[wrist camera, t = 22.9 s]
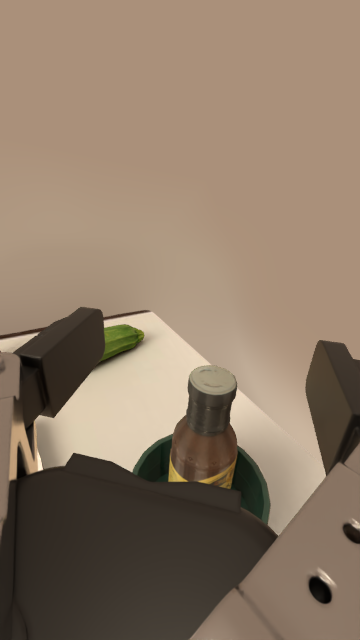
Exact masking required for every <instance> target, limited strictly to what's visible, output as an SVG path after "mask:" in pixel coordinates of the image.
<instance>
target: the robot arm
mask: <svg viewBox="0 0 360 640" xmlns="http://www.w3.org/2000/svg"><path fill="white" fill-rule="evenodd" d="M104 352H105V334H104V322H103V314H102V311H101V310H99V309H94V308H86V307H80V308H78V309H77V310H76V311H75V312H74V313H72V314H71V315H69V316H68V317H66V318H63V319H61V320H58V321H56V322H54V323H53V324H51V325H50V326H48V327H47V328H46V329H45V330H43V331H42V332H40V333H39V334H38V336H35V337H34V338H32V339H31V340H30V341H28V342H27V343H26V344H24V345H23V346H22V347H20V348H19V349H17V350H16V351H15V352H13V353H7V352H2V353H0V640H360V360H355V359H353V358H352V357H351V355H350V353H349V352H348V349H347V347H346V346H345V344H343V343H338V342H330V341H323V340H319V341H318V343H317V345H316V348H315V351H314V355H313V358H312V362H311V365H310V369H309V372H308V375H307V379H306V396H307V400H308V404H309V408H310V412H311V416H312V420H313V424H314V428H315V432H316V436H317V440H318V444H319V448H320V452H321V456H322V460H323V464H324V468H325V472H326V478H325V479H324V480H323V481H322V483H321V484H320V485H319V486H318V488H317V489H316V490H315V491H314V493H313V494H312V495H311V496H310V498H309V499H308V500H307V501H306V503H305V504H304V505H303V506H302V508H301V509H300V510H299V511H298V513H297V514H296V515H295V516H294V518H293V519H292V520H291V521H290V523H289V524H288V525H287V526H286V528H285V529H284V530H283V532H282V533H281V534H280V535H279V536H278V535H277V534H276V533H275V532H274V531H273V530H272V529H271V528H270V527H269V526H268V525H266V524H265V523H264V522H263V521H262V520H260V519H259V518H258V517H256V516H255V515H253V514H252V513H250V512H249V511H247V510H245V509H243V508H241V491H236V490H232V489H228V488H223V487H219V486H215V485H211V484H206V483H202V482H198V481H187V482H150V481H147V480H145V479H143V478H141V477H139V476H137V475H135V474H134V473H132V472H130V471H128V470H126V469H124V468H122V467H121V466H119V465H117V464H115V463H113V462H111V461H107V460H102V459H98V458H94V457H89V456H85V455H81V454H76V453H73V455H72V456H71V458H70V459H69V461H68V462H67V464H66V466H60V467H53V468H48V469H44V470H40V471H38V459H37V434H36V424H35V419H36V418H37V417H38V416H39V415H42V416H47V417H52V418H54V417H55V416H56V414H57V413H58V412H59V411H60V410H61V408H62V407H63V406H64V405H65V403H66V402H67V401H68V400H69V398H70V397H71V396H72V395H73V394H74V392H75V391H76V390H77V389H78V387H79V386H80V385H81V384H82V383H83V381H84V380H85V379H86V378H87V376H88V375H89V374H90V373H91V371H92V370H93V369H94V368H95V367H96V365H97V364H98V363H99V362H100V360H101V359H102V357H103V355H104Z"/></svg>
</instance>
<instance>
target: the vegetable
mask: <svg viewBox="0 0 360 640" xmlns="http://www.w3.org/2000/svg"><path fill="white" fill-rule="evenodd" d="M104 334H105V352H104V355H103V357H102V359H101V360H100V361H102V360H104V359H107V358H109V357H111V356H114V355H115V354H117V353H120V352H122V351H125V350H128V349H132V348H133V347H135V346H136V344H137V343H139V342H140V341H141V340H143V338H144V332H142V330H138V329H136V328H133V327H131V326H129V325H126V324H124V325H117V326H112V327H106V328H104Z"/></svg>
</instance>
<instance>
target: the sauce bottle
mask: <svg viewBox="0 0 360 640" xmlns="http://www.w3.org/2000/svg"><path fill="white" fill-rule="evenodd" d="M236 390H237V382H236V379H235V376H234V375H233V374H232V373H230V372H229V371H227V370H226V369H224V368H221V367H218V366H211V365H208V366H201V367H198V368H196V369H194V370H193V371H192V372H191V374H190V376H189V381H188V393H189V402H188V409H187V411H186V415H185V416H184V417H183V418H182V419H181V420H180V421H179V422H178V423H177V425H176V428H175V430H174V433H173V437H172V448H171V453H170V465H169V481H168V482H187V481H198V482H202V483H206V484H211V485H215V486H219V487H223V488H228V489H230V488H231V483H232V478H233V473H234V468H235V463H236V458H237V438H236V435H235V432H234V430H233V428H232V426H231V425H230V423H229V422H230V410H231V405H232V402H233V400H234V399H235V396H236Z"/></svg>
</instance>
